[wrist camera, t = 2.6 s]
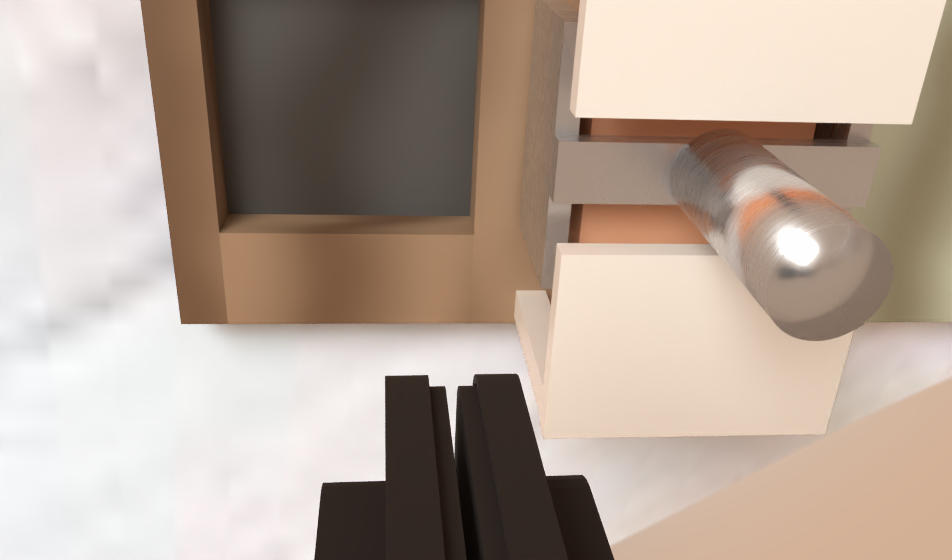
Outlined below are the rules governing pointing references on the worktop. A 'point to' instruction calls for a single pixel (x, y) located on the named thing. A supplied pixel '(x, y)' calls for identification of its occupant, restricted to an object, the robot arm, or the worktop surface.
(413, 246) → the board
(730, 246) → the slider
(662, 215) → the block
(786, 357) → the toy bench
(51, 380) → the worktop surface
